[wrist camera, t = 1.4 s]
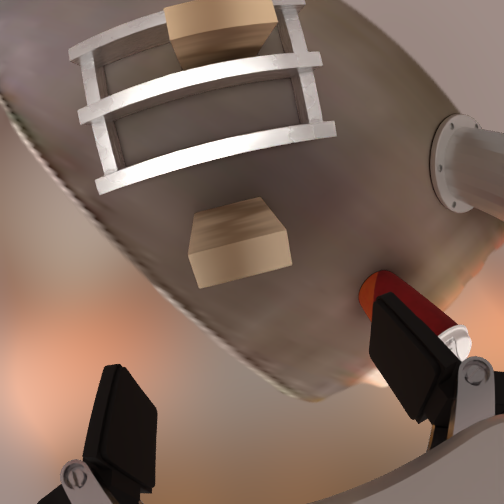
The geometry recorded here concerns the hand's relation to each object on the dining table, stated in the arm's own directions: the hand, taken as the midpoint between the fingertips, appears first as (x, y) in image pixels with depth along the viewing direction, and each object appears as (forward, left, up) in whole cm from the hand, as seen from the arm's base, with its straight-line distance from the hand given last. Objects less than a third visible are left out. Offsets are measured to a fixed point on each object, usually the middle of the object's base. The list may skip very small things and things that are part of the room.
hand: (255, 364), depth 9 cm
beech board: (0, 0, -17) cm, 17 cm away
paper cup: (-15, +13, -18) cm, 27 cm away
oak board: (-2, -15, -17) cm, 23 cm away
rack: (0, -12, -17) cm, 21 cm away
